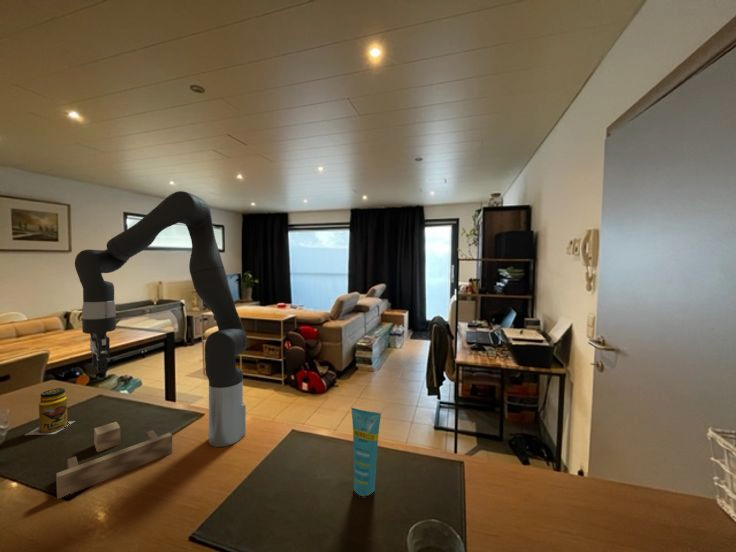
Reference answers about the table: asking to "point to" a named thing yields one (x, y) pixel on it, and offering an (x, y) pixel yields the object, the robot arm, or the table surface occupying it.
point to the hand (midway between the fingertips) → (100, 368)
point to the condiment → (52, 412)
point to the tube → (365, 449)
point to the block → (107, 436)
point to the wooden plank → (111, 464)
